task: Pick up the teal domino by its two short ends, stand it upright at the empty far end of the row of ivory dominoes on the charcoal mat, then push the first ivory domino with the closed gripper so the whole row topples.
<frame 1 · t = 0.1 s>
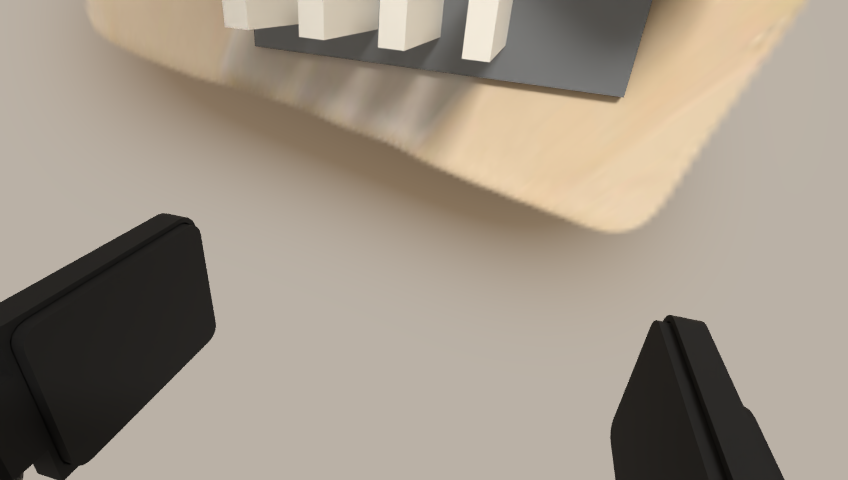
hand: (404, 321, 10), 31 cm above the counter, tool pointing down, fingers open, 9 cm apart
domino 4: (500, 6, 34), point 1 cm above the counter, touching domino mat
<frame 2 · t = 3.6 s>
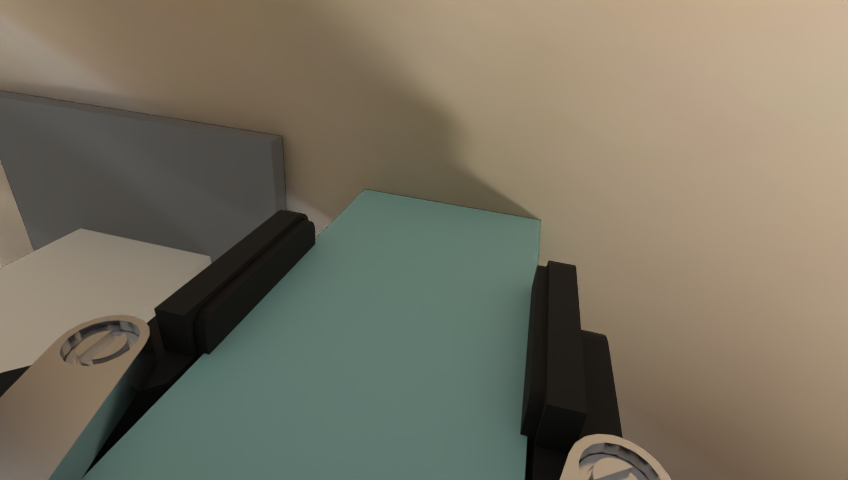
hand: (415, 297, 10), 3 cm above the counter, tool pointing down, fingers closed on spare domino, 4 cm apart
domino 1: (148, 262, 16), point 1 cm above the counter, touching domino mat
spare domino: (446, 229, 13), on the counter, touching gripper
domino mat: (202, 442, 21), on the counter
when the fingers open (6 cm above the counter, at t = 12.0 s): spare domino drops 2 cm, resting on domino mat.
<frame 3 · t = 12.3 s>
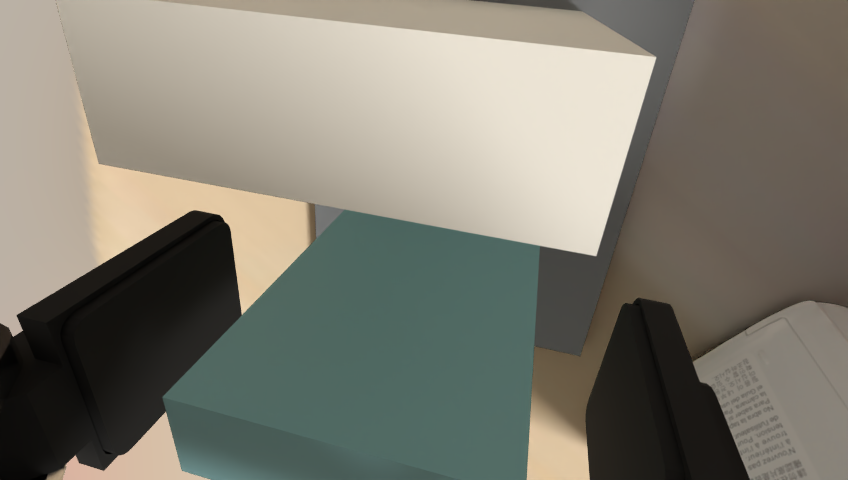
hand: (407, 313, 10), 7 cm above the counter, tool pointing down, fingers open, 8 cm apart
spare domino: (459, 203, 15), point 1 cm above the counter, touching domino mat
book: (713, 392, 17), on the counter
domino 4: (479, 34, 13), point 1 cm above the counter, touching domino mat
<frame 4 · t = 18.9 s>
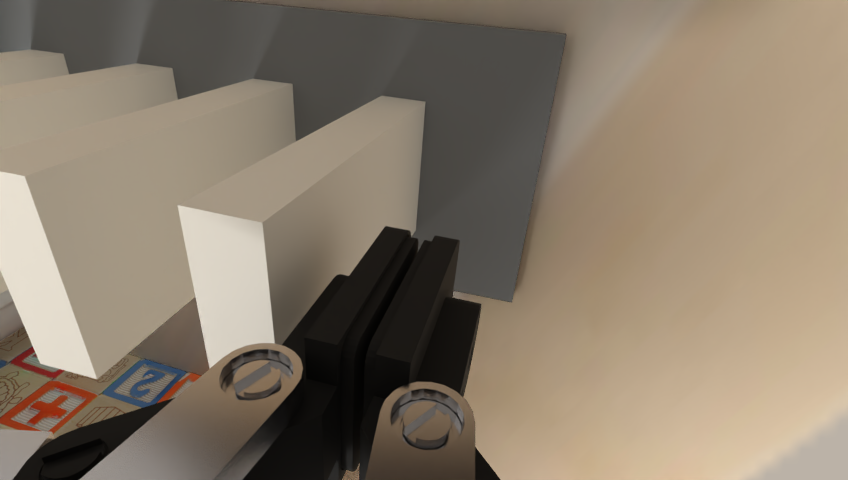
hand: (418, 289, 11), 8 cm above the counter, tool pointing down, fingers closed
stack of blocks: (175, 396, 29), on the counter
domino 1: (399, 166, 17), point 1 cm above the counter, touching domino mat, gripper
domino mat: (176, 126, 20), on the counter
domino 2: (277, 147, 18), point 1 cm above the counter, touching domino mat
domino 3: (166, 129, 19), point 1 cm above the counter, touching domino mat
domino 4: (65, 113, 20), point 1 cm above the counter, touching domino mat
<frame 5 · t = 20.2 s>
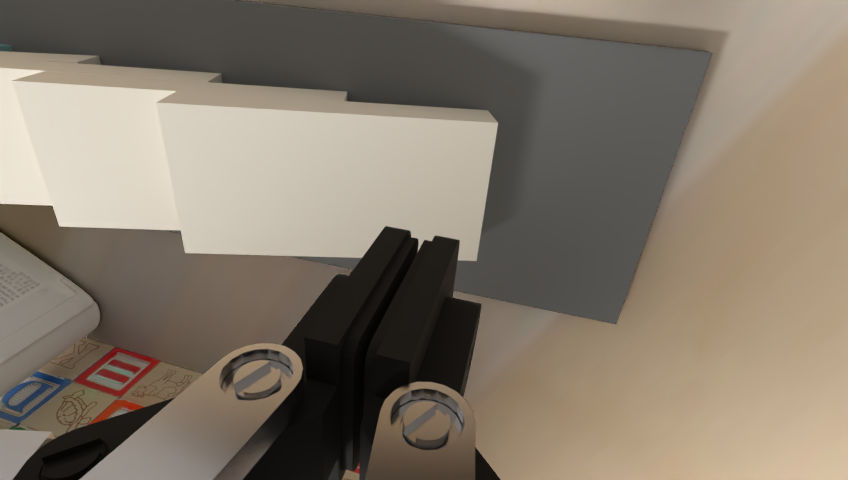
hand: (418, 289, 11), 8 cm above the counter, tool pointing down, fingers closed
stack of blocks: (236, 412, 29), on the counter
domino 1: (481, 187, 16), point 1 cm above the counter, tilted 71°, touching domino 2, domino mat
domino mat: (266, 139, 19), on the counter
domino 2: (345, 165, 17), point 1 cm above the counter, tilted 71°, touching domino 1, domino 3, domino mat
domino 3: (223, 144, 18), point 1 cm above the counter, tilted 71°, touching domino 2, domino 4, domino mat
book: (29, 266, 27), on the counter
domino 4: (106, 124, 19), point 1 cm above the counter, tilted 70°, touching domino 3, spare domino
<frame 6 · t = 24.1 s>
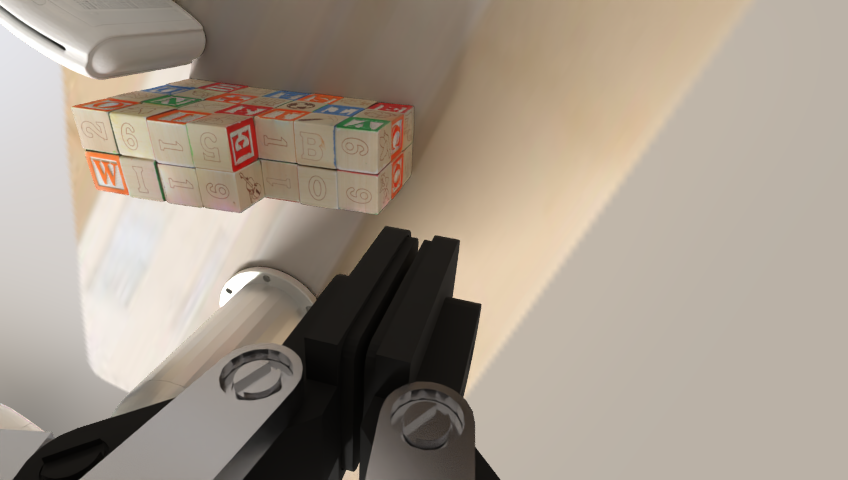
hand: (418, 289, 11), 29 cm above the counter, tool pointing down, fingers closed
stack of blocks: (300, 125, 42), on the counter
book: (157, 11, 40), on the counter
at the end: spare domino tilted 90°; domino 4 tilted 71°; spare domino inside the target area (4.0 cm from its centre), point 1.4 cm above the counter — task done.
